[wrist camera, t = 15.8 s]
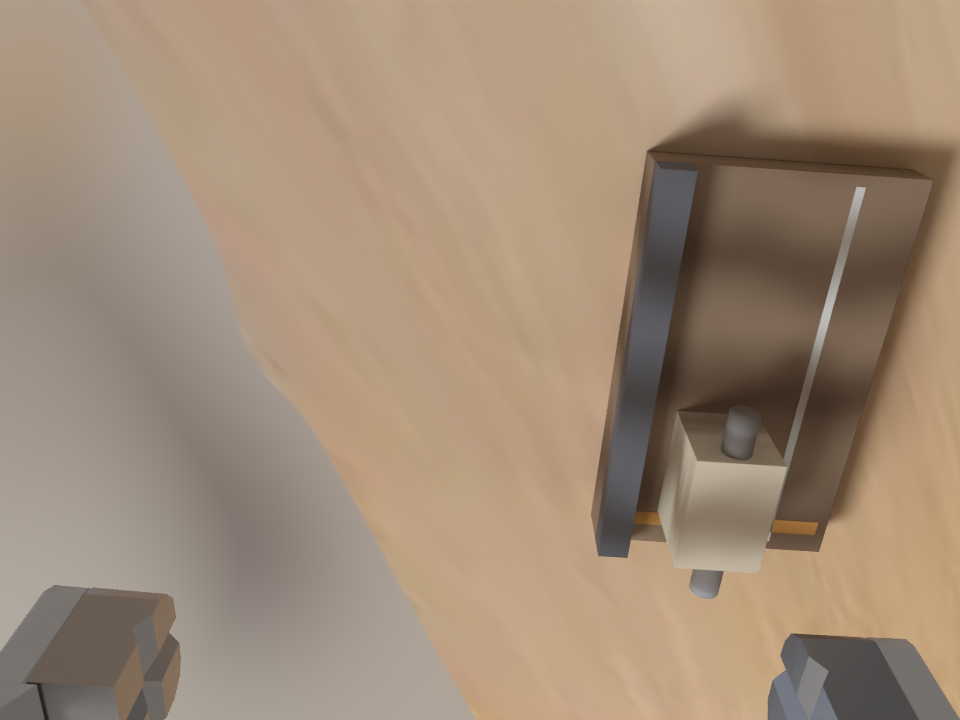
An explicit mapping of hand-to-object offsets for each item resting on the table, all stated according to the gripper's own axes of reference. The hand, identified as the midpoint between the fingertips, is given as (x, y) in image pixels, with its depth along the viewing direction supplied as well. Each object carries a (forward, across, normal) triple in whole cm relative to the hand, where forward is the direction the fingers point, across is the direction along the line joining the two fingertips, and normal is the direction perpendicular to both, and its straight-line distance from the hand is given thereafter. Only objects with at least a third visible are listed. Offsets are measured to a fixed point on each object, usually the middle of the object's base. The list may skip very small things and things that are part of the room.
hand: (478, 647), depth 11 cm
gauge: (+27, -12, +14) cm, 33 cm away
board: (+29, -13, +9) cm, 33 cm away
